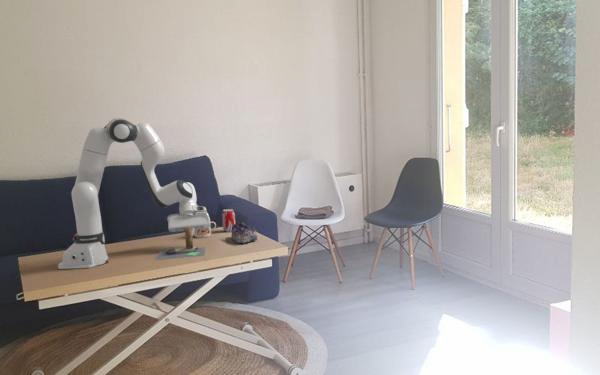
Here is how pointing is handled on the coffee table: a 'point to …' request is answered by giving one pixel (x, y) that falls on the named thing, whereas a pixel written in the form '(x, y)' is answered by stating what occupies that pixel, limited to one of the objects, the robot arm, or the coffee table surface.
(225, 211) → the soda can
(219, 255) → the coffee table surface
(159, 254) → the dial plate
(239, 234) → the geode
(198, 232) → the teacup with lid
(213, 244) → the coffee table surface
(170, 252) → the tuning lever
